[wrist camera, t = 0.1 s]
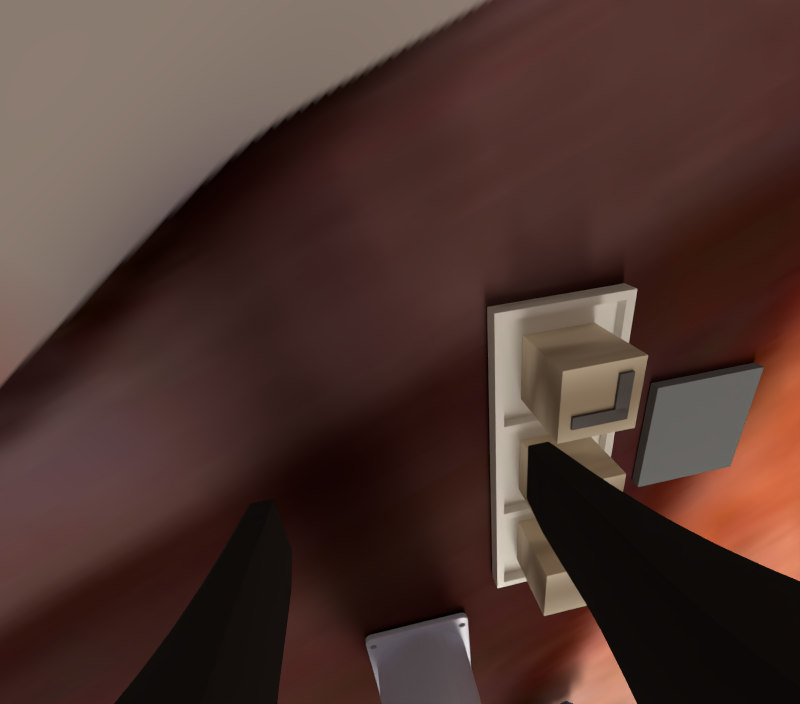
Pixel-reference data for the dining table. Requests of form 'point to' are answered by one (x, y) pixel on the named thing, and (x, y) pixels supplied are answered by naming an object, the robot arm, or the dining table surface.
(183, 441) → the dining table surface
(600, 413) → the letter cube
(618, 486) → the plain cube middle
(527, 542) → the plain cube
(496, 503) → the sorting tray
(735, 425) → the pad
